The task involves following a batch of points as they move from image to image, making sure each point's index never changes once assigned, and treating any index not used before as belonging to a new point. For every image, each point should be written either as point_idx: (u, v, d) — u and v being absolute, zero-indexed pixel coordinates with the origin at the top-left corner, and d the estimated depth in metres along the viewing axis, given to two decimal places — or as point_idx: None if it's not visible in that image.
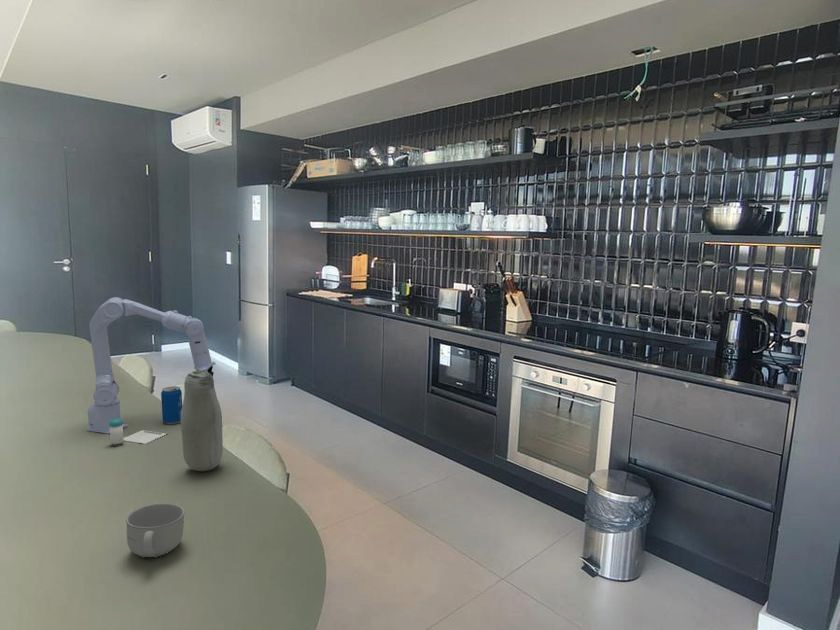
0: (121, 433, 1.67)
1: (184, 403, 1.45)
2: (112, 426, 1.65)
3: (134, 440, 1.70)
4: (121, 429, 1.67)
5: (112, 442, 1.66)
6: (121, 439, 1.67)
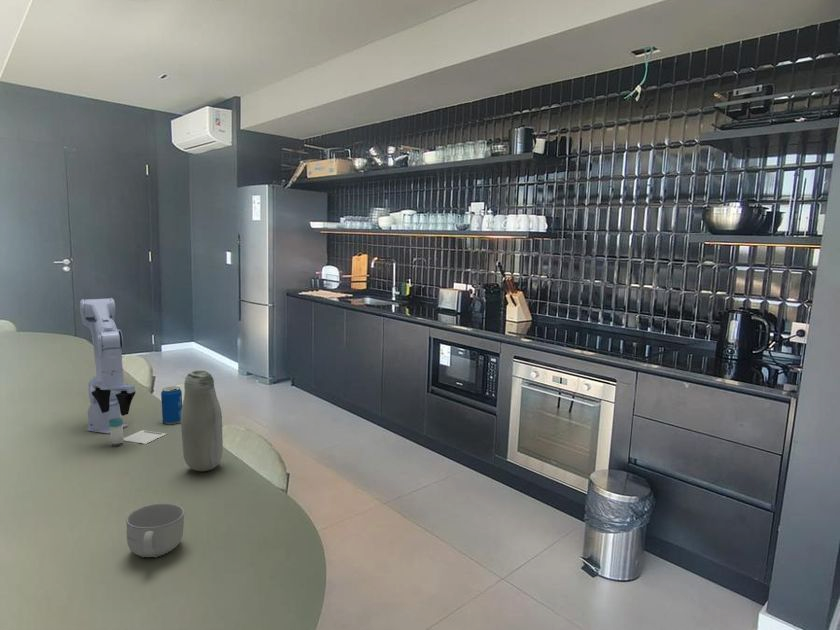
0: (121, 433, 1.67)
1: (184, 403, 1.45)
2: (112, 426, 1.65)
3: (134, 440, 1.70)
4: (121, 429, 1.67)
5: (112, 442, 1.66)
6: (121, 439, 1.67)
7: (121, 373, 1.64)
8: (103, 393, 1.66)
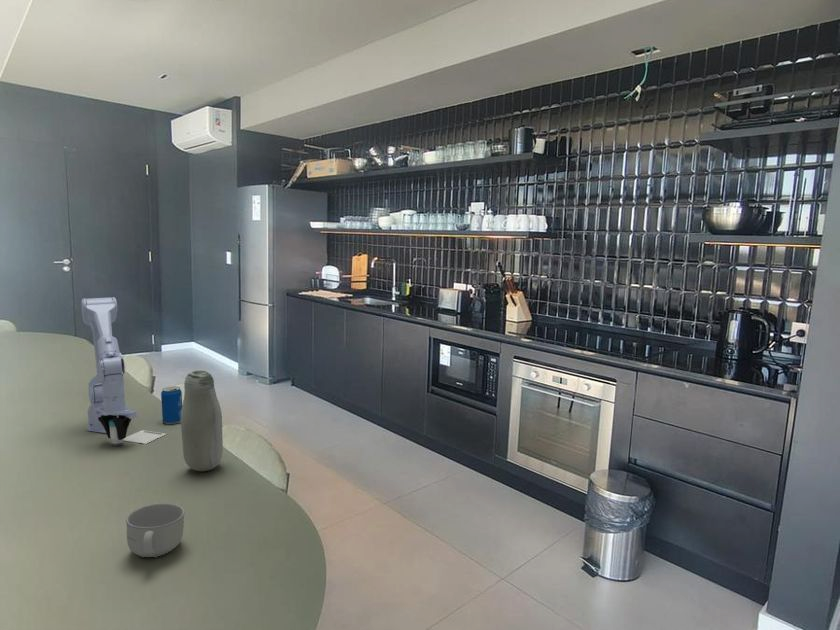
0: None
1: (184, 403, 1.45)
2: (112, 426, 1.65)
3: (134, 440, 1.70)
4: None
5: (112, 442, 1.66)
6: None
7: (123, 398, 1.65)
8: (109, 418, 1.67)
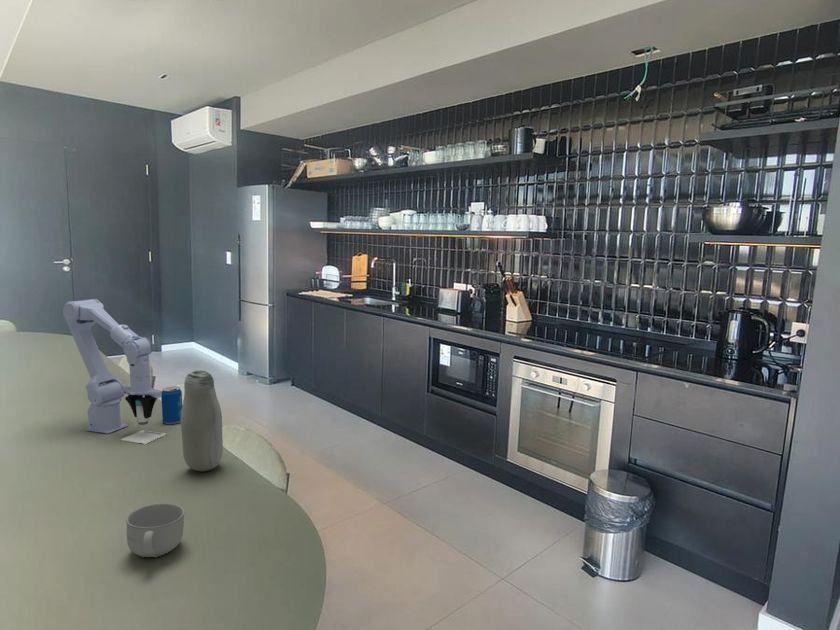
0: None
1: (184, 403, 1.45)
2: (139, 405, 1.73)
3: (134, 440, 1.70)
4: None
5: (138, 421, 1.74)
6: (147, 418, 1.75)
7: (149, 379, 1.74)
8: (136, 398, 1.75)
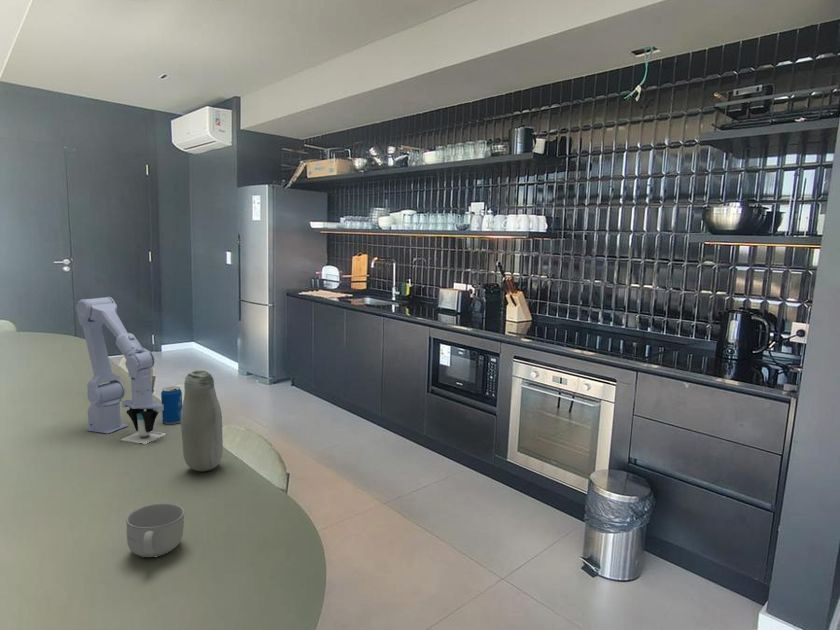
0: None
1: (184, 403, 1.45)
2: (140, 419, 1.70)
3: (134, 440, 1.70)
4: None
5: (140, 435, 1.71)
6: None
7: (150, 392, 1.71)
8: (137, 412, 1.72)
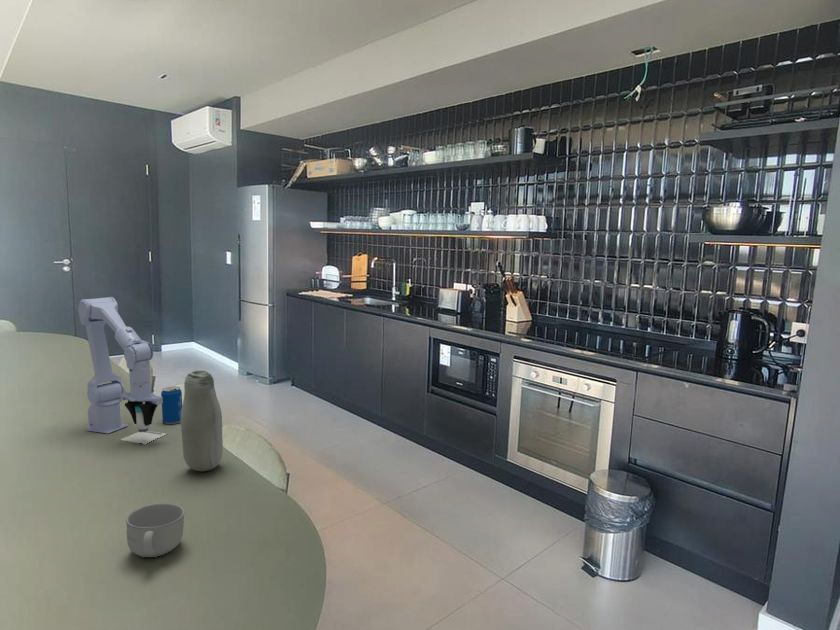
0: None
1: (184, 403, 1.45)
2: (138, 412, 1.67)
3: (134, 440, 1.70)
4: None
5: (138, 428, 1.68)
6: None
7: (149, 385, 1.67)
8: (136, 405, 1.69)
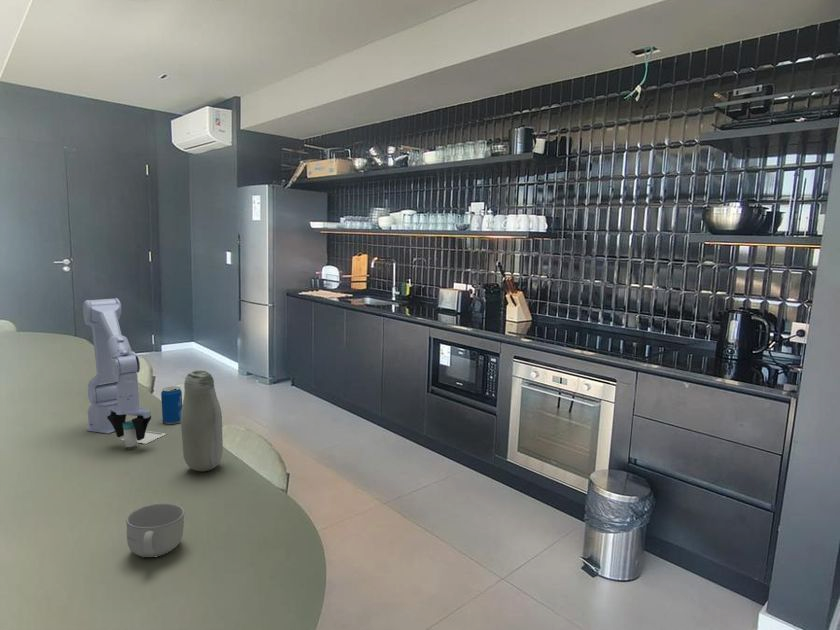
0: (135, 436, 1.64)
1: (184, 403, 1.45)
2: (126, 429, 1.63)
3: None
4: (135, 432, 1.64)
5: (126, 446, 1.63)
6: (135, 442, 1.65)
7: (137, 397, 1.63)
8: (119, 417, 1.65)
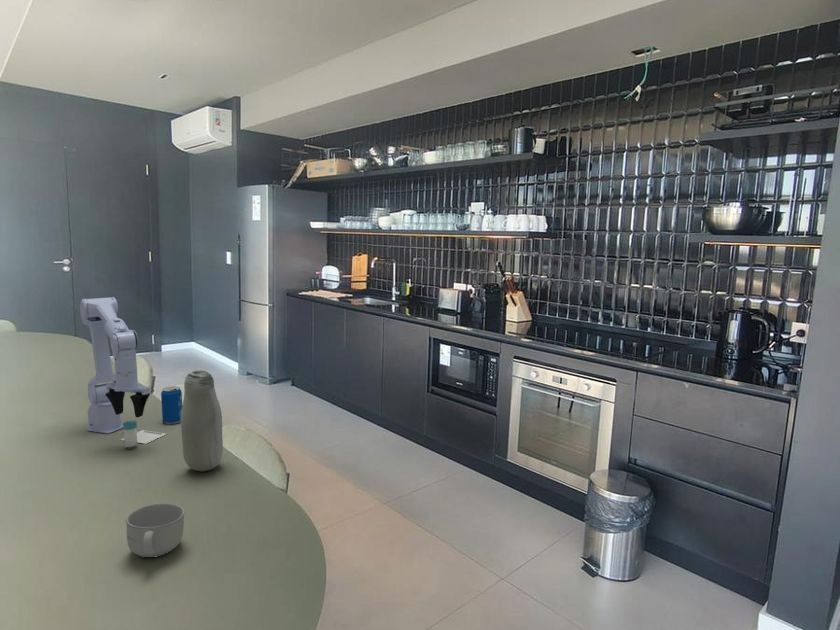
0: (135, 436, 1.64)
1: (184, 403, 1.45)
2: (126, 429, 1.63)
3: None
4: (135, 432, 1.64)
5: (126, 445, 1.63)
6: (135, 442, 1.65)
7: (135, 374, 1.62)
8: (117, 395, 1.64)
